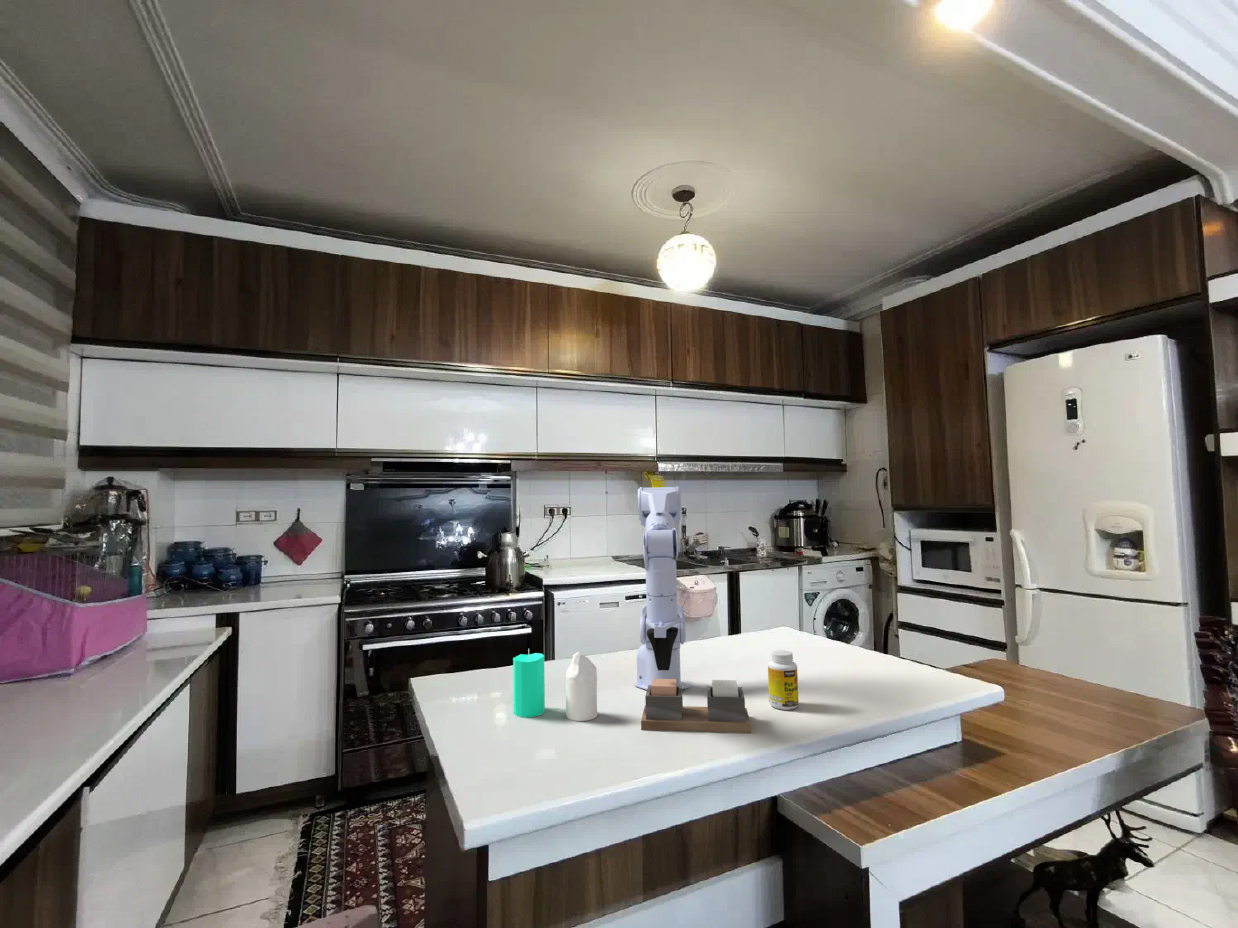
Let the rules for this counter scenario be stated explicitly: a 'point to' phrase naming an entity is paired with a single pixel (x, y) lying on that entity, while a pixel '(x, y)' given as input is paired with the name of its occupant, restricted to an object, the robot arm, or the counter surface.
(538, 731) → the counter surface
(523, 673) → the candle
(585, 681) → the white bottle
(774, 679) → the supplement bottle
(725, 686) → the white key
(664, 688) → the clay key
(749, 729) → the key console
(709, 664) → the counter surface
